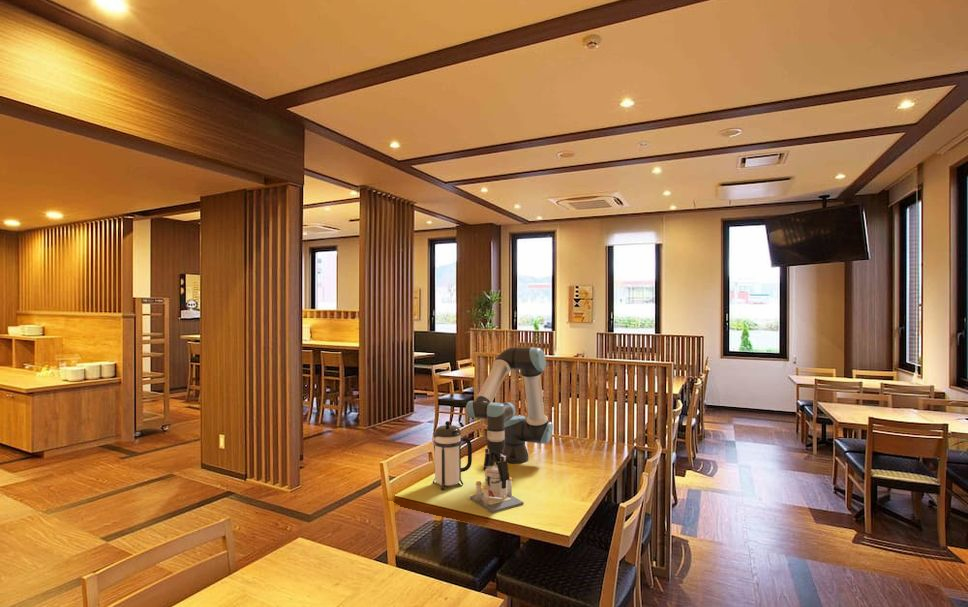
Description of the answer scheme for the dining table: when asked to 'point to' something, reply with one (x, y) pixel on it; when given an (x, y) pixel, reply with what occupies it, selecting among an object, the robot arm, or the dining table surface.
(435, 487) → the dining table surface
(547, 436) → the robot arm
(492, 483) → the ink box
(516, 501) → the header pad
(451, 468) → the coffee press
